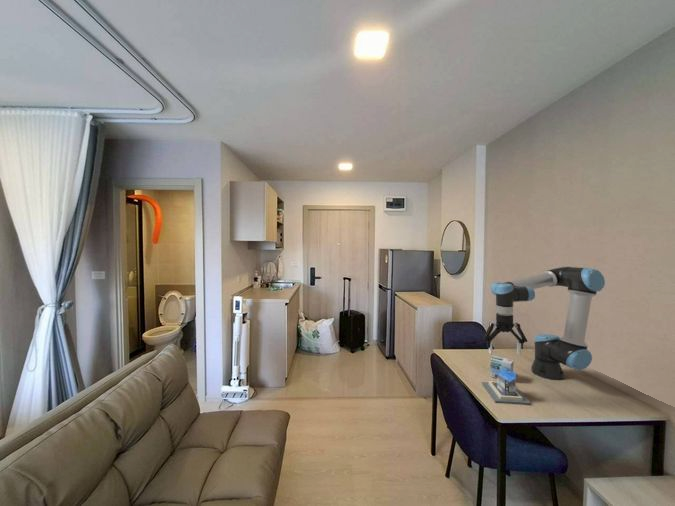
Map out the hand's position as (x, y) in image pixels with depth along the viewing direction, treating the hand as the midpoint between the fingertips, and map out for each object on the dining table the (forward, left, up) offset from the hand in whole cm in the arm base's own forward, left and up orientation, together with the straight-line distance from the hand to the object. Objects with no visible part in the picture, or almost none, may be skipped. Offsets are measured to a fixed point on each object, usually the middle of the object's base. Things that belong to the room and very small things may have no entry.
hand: (504, 354), depth 140 cm
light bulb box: (-6, -18, -21) cm, 28 cm away
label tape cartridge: (0, +1, -20) cm, 20 cm away
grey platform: (0, 0, -21) cm, 21 cm away
